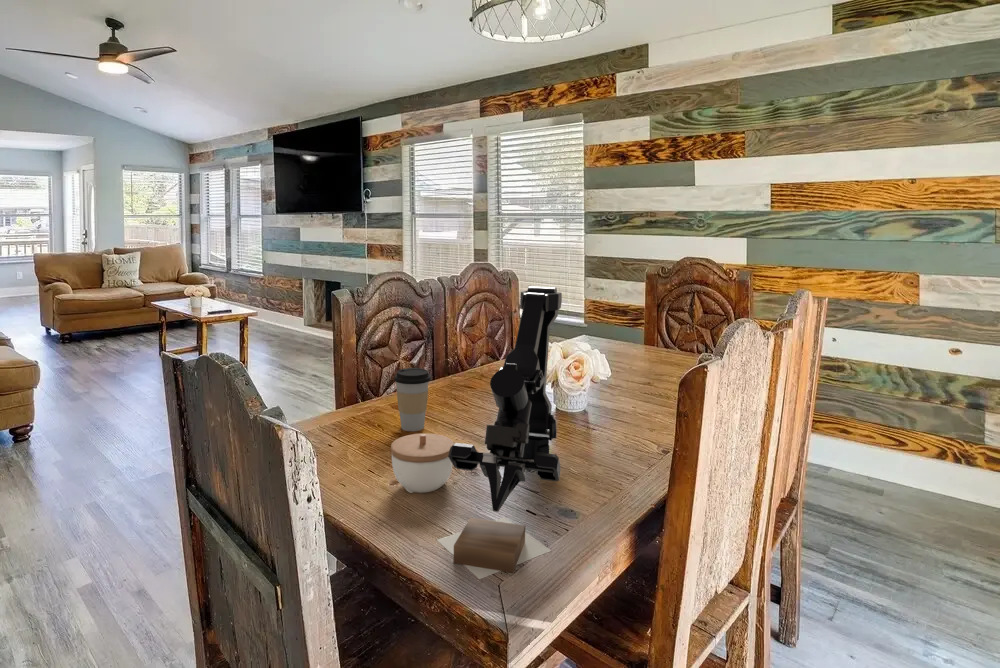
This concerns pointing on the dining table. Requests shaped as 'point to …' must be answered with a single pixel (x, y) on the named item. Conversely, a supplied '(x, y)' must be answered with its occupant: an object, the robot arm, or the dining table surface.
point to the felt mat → (528, 552)
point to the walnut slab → (490, 545)
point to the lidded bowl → (421, 461)
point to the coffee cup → (412, 397)
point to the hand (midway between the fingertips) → (495, 510)
